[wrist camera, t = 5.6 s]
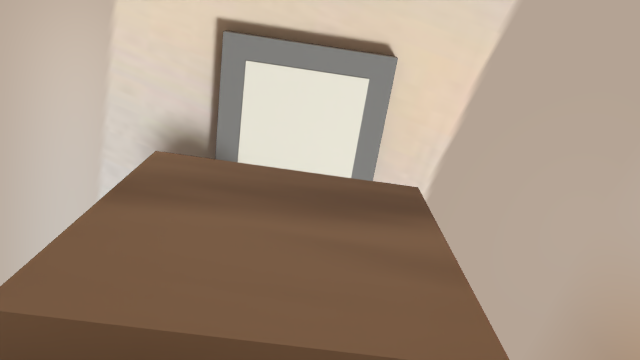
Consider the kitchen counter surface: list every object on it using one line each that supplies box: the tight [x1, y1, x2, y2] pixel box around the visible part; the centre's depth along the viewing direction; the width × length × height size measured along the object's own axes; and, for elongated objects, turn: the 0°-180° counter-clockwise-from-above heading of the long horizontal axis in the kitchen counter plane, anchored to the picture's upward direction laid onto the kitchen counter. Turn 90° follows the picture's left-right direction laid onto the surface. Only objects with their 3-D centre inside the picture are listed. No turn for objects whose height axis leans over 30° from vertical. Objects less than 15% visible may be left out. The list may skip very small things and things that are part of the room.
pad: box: [215, 31, 398, 181], centre depth 27 cm, size 10×10×1 cm
